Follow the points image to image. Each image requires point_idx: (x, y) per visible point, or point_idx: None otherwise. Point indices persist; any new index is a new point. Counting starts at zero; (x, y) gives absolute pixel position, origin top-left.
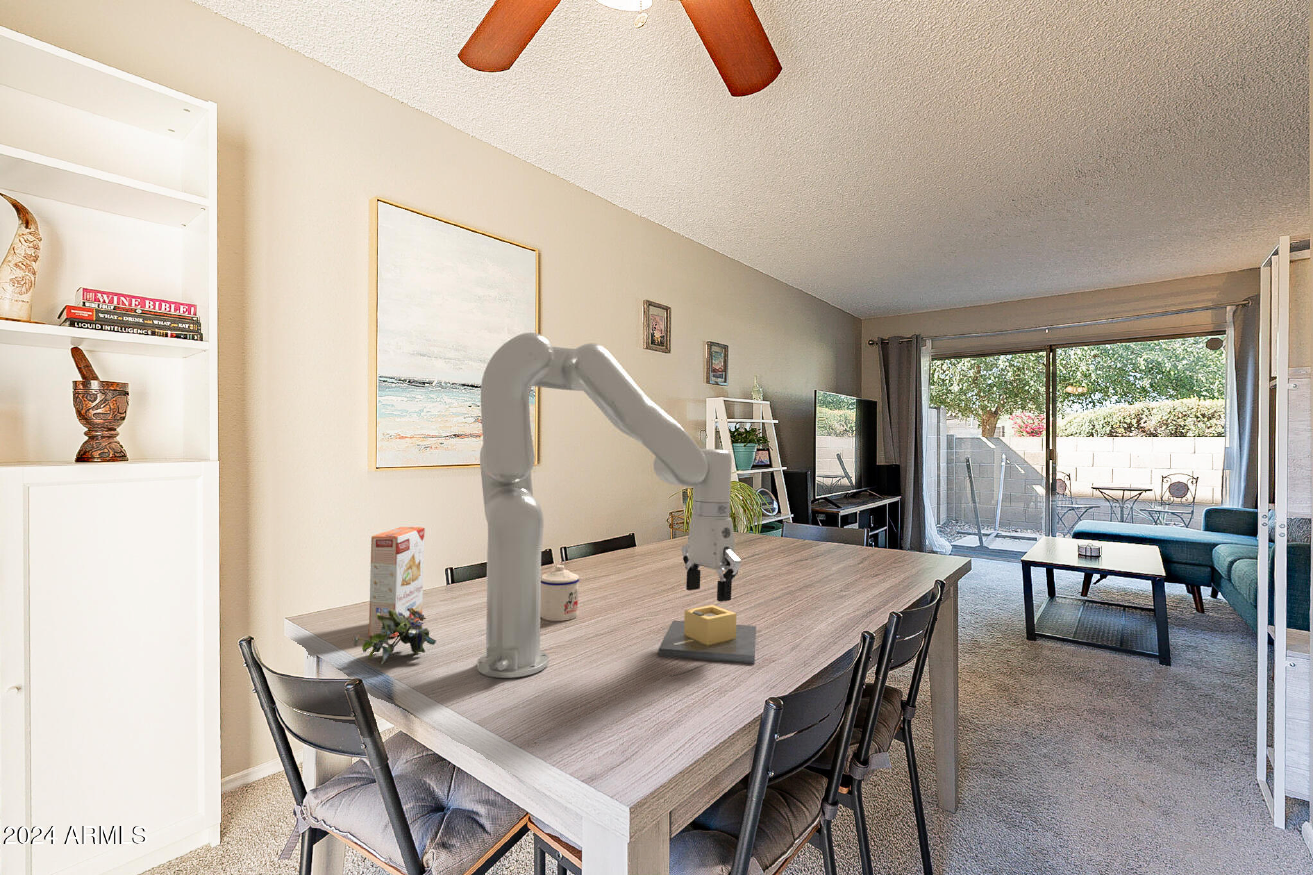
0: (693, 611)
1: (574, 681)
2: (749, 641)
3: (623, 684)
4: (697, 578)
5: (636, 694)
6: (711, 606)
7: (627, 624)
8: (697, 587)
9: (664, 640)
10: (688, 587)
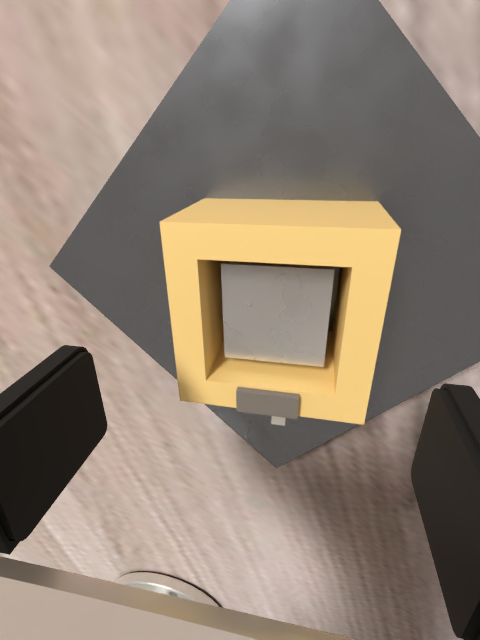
0: (237, 407)
1: (291, 602)
2: (460, 175)
3: (366, 576)
4: (42, 423)
5: (427, 591)
6: (188, 254)
7: (2, 352)
8: (89, 375)
9: (227, 418)
10: (96, 442)
